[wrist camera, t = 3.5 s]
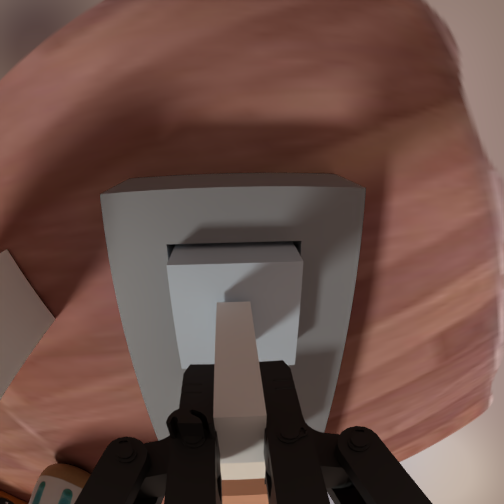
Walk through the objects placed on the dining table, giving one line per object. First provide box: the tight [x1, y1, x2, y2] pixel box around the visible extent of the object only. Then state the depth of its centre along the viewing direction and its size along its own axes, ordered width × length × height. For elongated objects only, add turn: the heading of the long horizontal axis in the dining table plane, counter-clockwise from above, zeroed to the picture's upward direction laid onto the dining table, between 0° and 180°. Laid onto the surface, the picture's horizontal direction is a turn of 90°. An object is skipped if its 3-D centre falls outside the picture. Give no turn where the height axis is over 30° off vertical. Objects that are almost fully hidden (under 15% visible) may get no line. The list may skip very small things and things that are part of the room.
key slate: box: [166, 241, 303, 369], centre depth 18 cm, size 6×6×6 cm
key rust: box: [222, 478, 269, 504], centre depth 22 cm, size 6×6×6 cm
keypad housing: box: [100, 173, 366, 441], centre depth 22 cm, size 13×30×5 cm, turn 0°
